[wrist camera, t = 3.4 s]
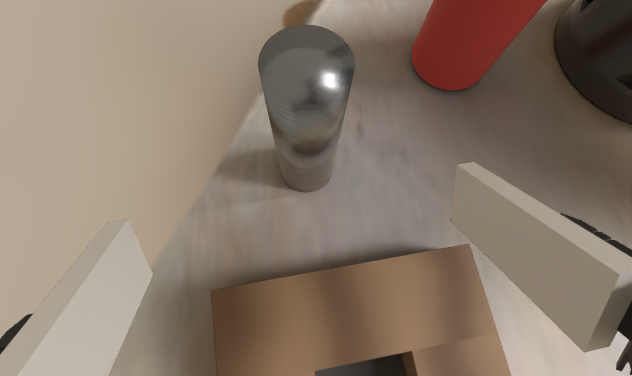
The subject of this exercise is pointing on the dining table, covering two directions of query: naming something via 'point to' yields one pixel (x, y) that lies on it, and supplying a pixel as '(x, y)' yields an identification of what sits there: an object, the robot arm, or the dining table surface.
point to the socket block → (362, 321)
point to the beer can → (467, 38)
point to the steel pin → (306, 100)
